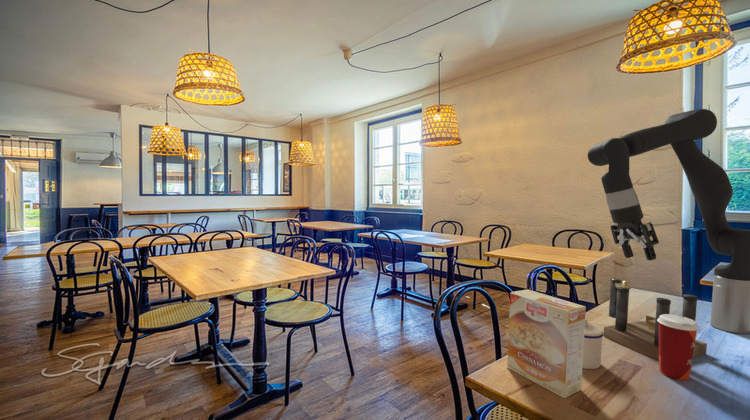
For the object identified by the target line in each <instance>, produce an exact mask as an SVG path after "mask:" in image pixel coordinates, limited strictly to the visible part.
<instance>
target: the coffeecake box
mask: <svg viewBox="0 0 750 420" xmlns="http://www.w3.org/2000/svg"><path fill="white" fill-rule="evenodd" d="M509 295H510V297H509V312H508V313H509V314H508V315H509V316H508V319H509V320H508V321H509V322H508V342H507V343H508V344H507V362H506V363H507V364H506V369H509V370H510V371H512V372H514V373H516V374H518V375H519V376H522V377H524V378H525V379H527V380H529V381H531V382H533V383H535V384H536V385H539V386H540V387H542V388H544V389H545V390H547V391H550V392H551V393H553V394H554V395H557V396H559V397H560V398H563V399H567V398H568V397H570V396H572V395H573V394H576V393H578V392H580V391H582V387H583V386H582V384H583V380H582V379H583V368H582V367H583V349H584V330H585V318H586V309H587V307H586V306H585V305H582V304H578V303H576V302H571V301H569V300H565V299H562V298H559V297H555V296H551V295H548V294H545V293H541V292H538V291H534V290H531V289H529V288H528V289H523V290H515V291H511V292H510V293H509Z"/></svg>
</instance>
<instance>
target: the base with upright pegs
mask: <svg viewBox="0 0 750 420" xmlns="http://www.w3.org/2000/svg"><path fill="white" fill-rule="evenodd" d="M628 295H629V296H630V288H626V287H617V304H616V318H615V322H614V324H615V325H613V324H612V325H607V326H603V337H604V338H607V339H609V340H611V341H613V342H616V343H618V344H620V345H623V346H625V347H626V348H630V349H631V350H634V351H636V352H639V353H641V354H643V355H645V356H648V357H650V358H652V359H655V360H657V361H659V322H658V321H657V319H658V318H659V316H660V315H662V314H671V312H670V311H671V305H672V300H671V299H669V298H665V297H656V306H655V307H656V308H655V317H654V316H651V315H647V314H646V315H645V321H644V320H640V321H634V322H628V320H627V312H628V313H629V304H628ZM682 295H683V296H682V298H683V300H682V315H681V316H683V317H686V318H689V319H692V320H694V321H695V322H696V320H697V319H696V318H697V317H696V316H697V305H698V304H697V303H698V299H699V297H698V296H696V295H693V294H688V293H687V294H685V293H684V294H682ZM707 346H708V343H706V342H703V341H700V340H698V339H695V345H694V352H693V358H694V357H699V356H702V355H707V348H708V347H707Z"/></svg>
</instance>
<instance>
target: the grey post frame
mask: <svg viewBox="0 0 750 420" xmlns="http://www.w3.org/2000/svg"><path fill="white" fill-rule="evenodd" d="M630 286H631V281H629V280H622V279H619V278H610V287H609V289H610V290H609V305H608V306H609V307H608V317H610V318H614V319H616V304H617V287H626V288H629V289H630ZM629 301H630V294H629V295H628V305H630V304H629V303H630V302H629ZM628 318H629V311H628V312H627V321H628Z"/></svg>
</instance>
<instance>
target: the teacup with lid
mask: <svg viewBox="0 0 750 420" xmlns="http://www.w3.org/2000/svg"><path fill="white" fill-rule="evenodd" d="M603 337H604V330H602V329H601V328H600V327H599V326H596V325H595V324H592V323H591V322H589V321H588V318H587V317H585V330H584V349H583V367H582V369H585V370H596V369H599V368H600V367H601V363H602V360H601V359H602V347H603V346H602V345H603V344H602V343H603Z"/></svg>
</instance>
